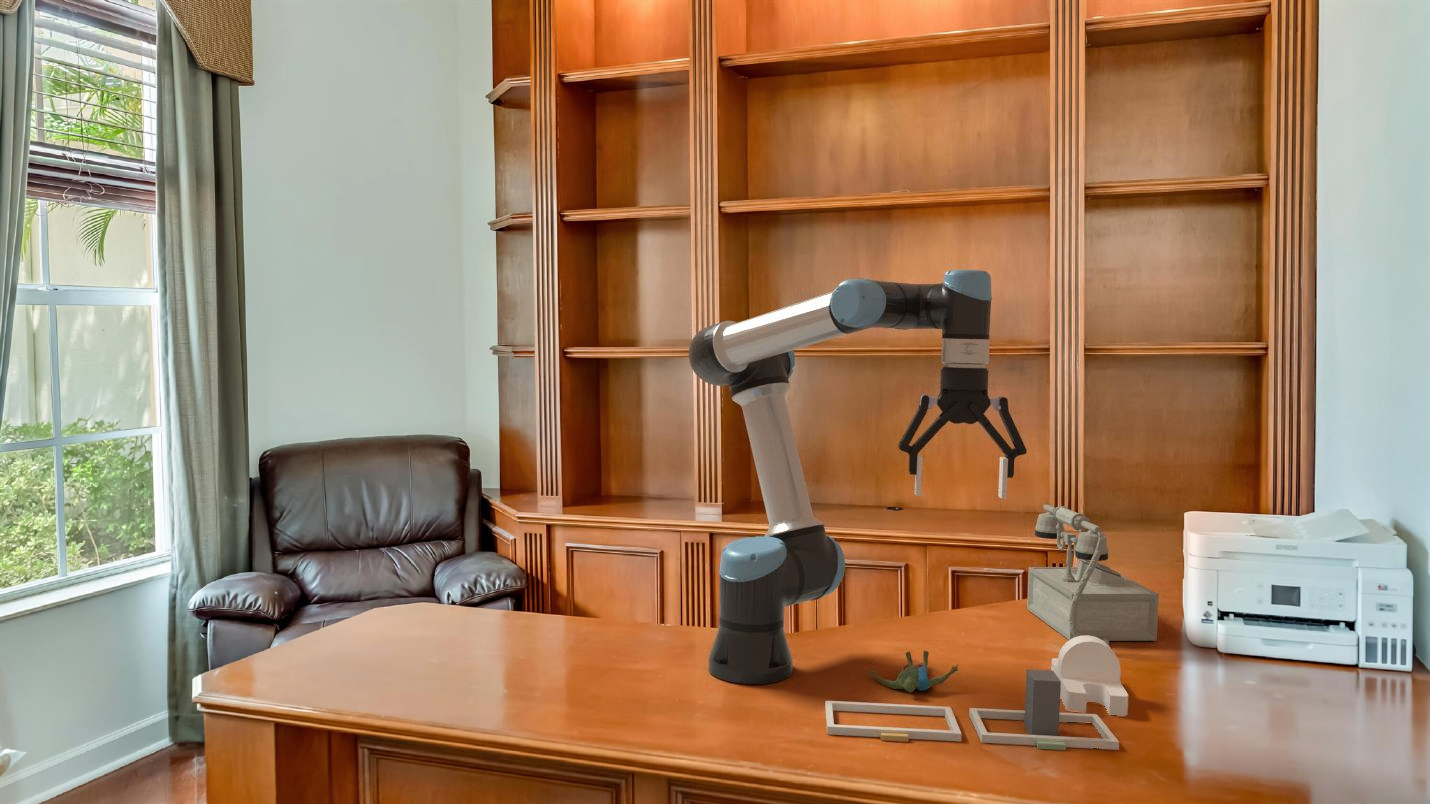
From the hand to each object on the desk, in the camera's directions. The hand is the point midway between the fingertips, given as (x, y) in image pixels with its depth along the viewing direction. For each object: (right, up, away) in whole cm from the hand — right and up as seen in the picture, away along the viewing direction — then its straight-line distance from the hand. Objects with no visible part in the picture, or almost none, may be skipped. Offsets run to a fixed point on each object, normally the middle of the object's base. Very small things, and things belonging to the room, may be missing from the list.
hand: (959, 496), depth 163 cm
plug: (+10, -36, -9) cm, 38 cm away
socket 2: (+10, -36, -9) cm, 38 cm away
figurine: (-5, -34, +13) cm, 37 cm away
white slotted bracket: (+24, -35, +8) cm, 43 cm away
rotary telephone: (+39, -33, +49) cm, 70 cm away
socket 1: (-13, -35, -7) cm, 38 cm away
